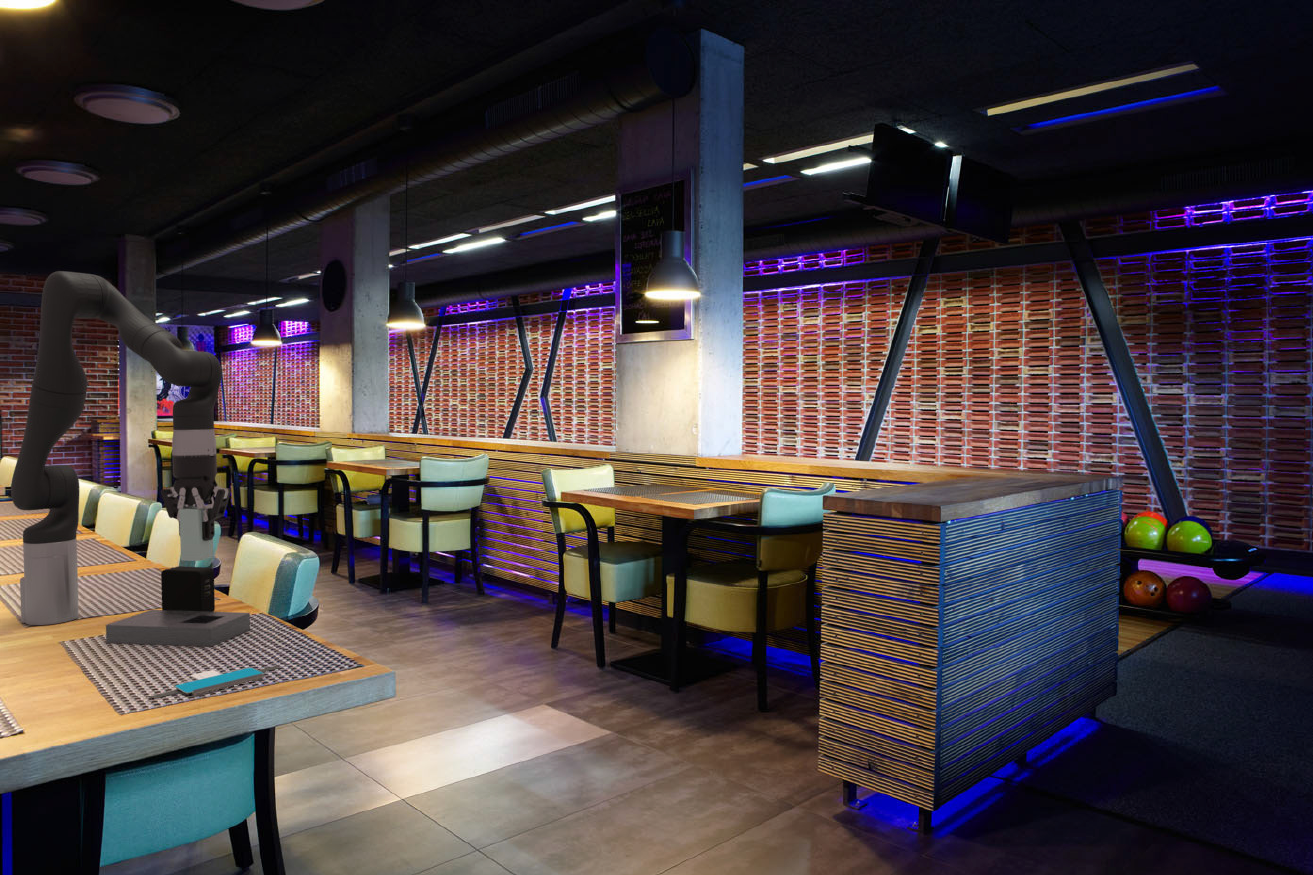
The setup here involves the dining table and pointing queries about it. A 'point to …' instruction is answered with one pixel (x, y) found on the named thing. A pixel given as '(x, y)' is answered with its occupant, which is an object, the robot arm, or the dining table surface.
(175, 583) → the electronic device
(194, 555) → the sage green square post
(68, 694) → the dining table surface
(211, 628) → the grey peg hole base
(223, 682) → the teal bar with rods
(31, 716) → the dining table surface
